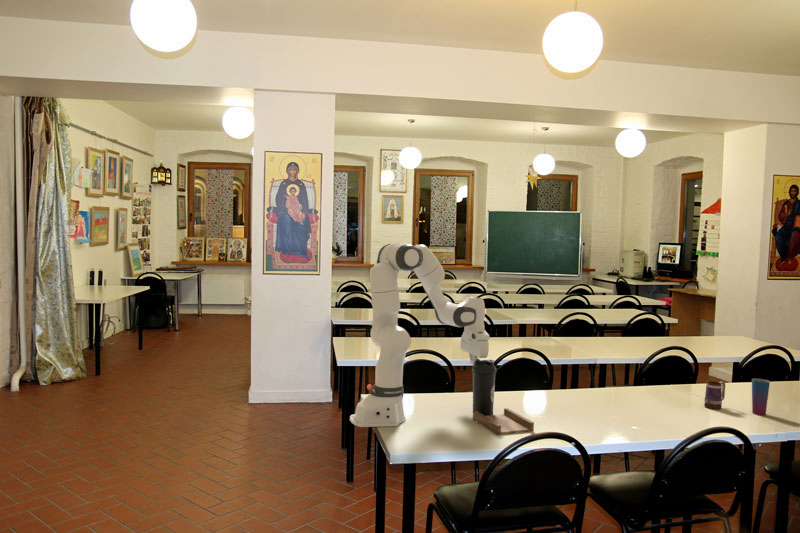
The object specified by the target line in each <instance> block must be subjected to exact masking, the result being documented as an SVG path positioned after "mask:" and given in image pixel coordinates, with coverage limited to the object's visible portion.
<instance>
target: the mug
mask: <svg viewBox="0 0 800 533" xmlns="http://www.w3.org/2000/svg"><path fill="white" fill-rule="evenodd" d="M705 386H706V387H705V395H704V396H705V397H704V408H707V409H709V410H714V411H716V410H717V411H718V410H722V404H723V401H724V399H725V395H726V382H724V381H723V380H721V381H714V380H712V381H711V380H708V381H706V385H705Z"/></svg>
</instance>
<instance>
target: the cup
mask: <svg viewBox="0 0 800 533" xmlns="http://www.w3.org/2000/svg"><path fill="white" fill-rule="evenodd" d="M770 384H771V382H770V380H768V379H762V378H752V379H751V397H752V398H751V404H752V407H751V408H752V414H753V415H756V416H766V414H767V407H768V400H769V391H770Z"/></svg>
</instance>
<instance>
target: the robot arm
mask: <svg viewBox="0 0 800 533" xmlns="http://www.w3.org/2000/svg"><path fill="white" fill-rule="evenodd" d="M377 254H378V255H377V260H376V264H375V265H373V266H372V267H371V270H370V277H369V278H370V280H369V287H370V294H371V304H372V305H371V306H372V323H371V324H372V325H371V329H370V333H369V334H370V338H371V341H372V342H373V343H374V345H375V346H376V347H378V348H379V350H380V351H379V357H378V360H377V362H376V364H375V372H374V373H375V376H374V377H375V382H374V384H373V385H372V384H367V385H366V388H367V390H368V391H370V392H369V394H368V395H367V396H366V397H365V398H363V399H362V400H361V401H360V402H358V403H357V405H356V408H355V413H354V414H351V415H350V416H349V421H350V423H351V424H353V425H354V426H356V427H358V428H373V427H375V428H378V427H382V428H383V427H398V426H399V425H400V424H401V423H404V422H405V421H406V415H405V410H404V403H403V398H404V384H403V378H404V377H403V376H404V364H405V358H406V355H407V352H408V350H409V349H410V347H411V345H412V344H411V343H412V338H411V336H410V334H409V332H408V331H407V330H406V329H405V328H403V327H401V326H399V324H398V320H399V311H400V310H401V303H400V293H399V286H398V275H399V272H405V271H406V272H410V271H413V272H414V274H415V276H416V277H417V279H418V280H419V281H420V283H421V285H422V287H423V290H424V292H425V294H426V295H427V297H428V299H429V301H430V302H431V305H432V307H433V310H434V313H435V319H437V321H438V323H440V324H442V325H445V326H446V325H447V326H453V327H457V328H464V329H463V332H462V335H461V338H460V350H461V351H463V352H465V353H467V354H468V358H469V363H470V365H472V366H473V365H474V364H475V361H476V359H479V358H480V359H485V358H488V357H489V349H490V348H489V347H490V343H489V340H490V338H491V337H490V334H489V333H488V332H487V331H486V329H485V322H484V321H485V318H486V306H485V301H484V299H483V298H481V297H477V296H473V295H472V296H471V295H469V296H467V297H466V298H465V299H464V300H463V301H461V302H459V303H458V304H457V303H452V302H450V301H448V300H447V299H446V298H445V296H444V293H443V292H442V290H441V288H440V285H441V284H442V283H444V280H445V277H446V272H445V270H444V268H443V266H442V263H440V261H439V260H438V258H437V257H436V255H435V254H434V253H433V252H432V250H431V249H430V248H429V247H428V246H427V245H425V244H416V245H412V244H410V243H409V244H408V243H407V244H406V243H401V242H400V243H399V242H398V243H397V242H395V243H387V244H385V245H383V246H382V247H381V248H380V249H379V251H378V253H377Z"/></svg>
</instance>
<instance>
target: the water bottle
mask: <svg viewBox="0 0 800 533" xmlns="http://www.w3.org/2000/svg"><path fill="white" fill-rule="evenodd" d="M494 362H495V360H494V359H484V360H483V359H482V360H480V359H479V358H478V359H476V361H475V364H474V365H473V364H472V367H471V372H472V412H473V411H478V412H479V413H481V414H483V415H484V416H490V415H494V401H495V387H496V386H495V385H496V382H495V381H496V374H497V367H496V365H495V364H494Z"/></svg>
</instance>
